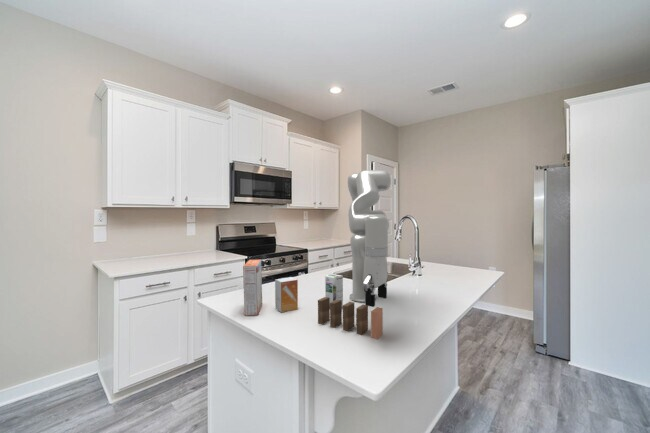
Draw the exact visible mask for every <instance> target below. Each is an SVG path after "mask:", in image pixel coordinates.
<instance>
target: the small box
mask: <svg viewBox="0 0 650 433" xmlns="http://www.w3.org/2000/svg"><path fill="white" fill-rule="evenodd" d="M298 281H299V280H298V279H296V278H295V277H292V276H289V277H281V278H278V279H276V278H275V279H274V284H275V285H274V288H275V289H274V290H275V292H274V295H275V296H274V297H275V298H274V299H275V301H274V303H275V306H274V307H275V309H276V310H277V311H278V312H280V313H285V312H289V311H294V310H299V309H298V308H299V307H298V306H299V305H298V304H299V302H298V301H299V299H298V297H299V294H298V289H299V288H298V285H299V284H298V283H299V282H298Z"/></svg>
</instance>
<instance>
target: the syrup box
mask: <svg viewBox="0 0 650 433" xmlns="http://www.w3.org/2000/svg"><path fill="white" fill-rule="evenodd" d="M324 281H325V282H324V284H325V287H324V288H325V295H324V297H329V298H330V302H332V301H334V300H336V299H339V300H342V309H343V305H344V302H343V300H344V294H343V293H344V288H343V287H344V285H343V284H344V276H343V275H339V274H336V273H330V274H327V275H325V277H324Z"/></svg>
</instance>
